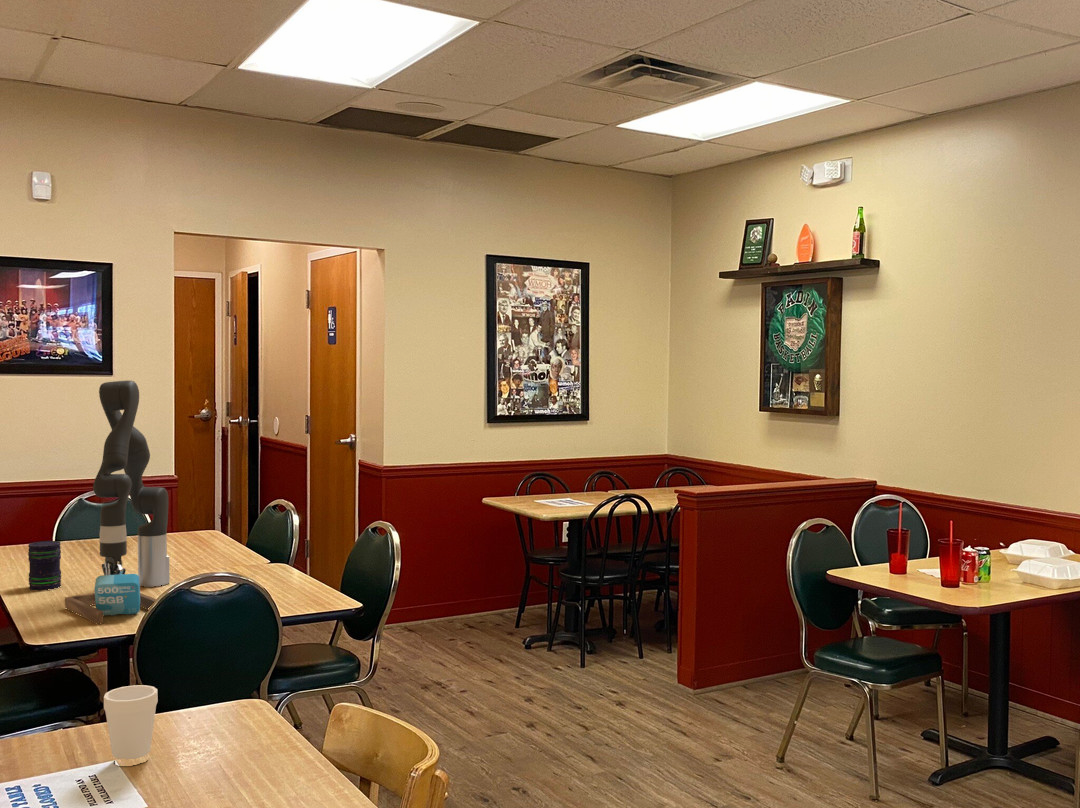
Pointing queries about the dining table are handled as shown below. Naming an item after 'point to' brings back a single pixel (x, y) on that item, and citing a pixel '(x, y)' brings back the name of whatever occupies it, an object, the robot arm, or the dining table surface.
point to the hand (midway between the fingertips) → (113, 596)
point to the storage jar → (44, 565)
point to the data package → (117, 594)
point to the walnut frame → (84, 609)
